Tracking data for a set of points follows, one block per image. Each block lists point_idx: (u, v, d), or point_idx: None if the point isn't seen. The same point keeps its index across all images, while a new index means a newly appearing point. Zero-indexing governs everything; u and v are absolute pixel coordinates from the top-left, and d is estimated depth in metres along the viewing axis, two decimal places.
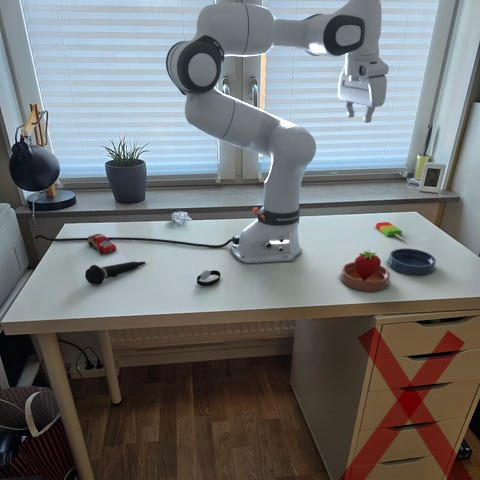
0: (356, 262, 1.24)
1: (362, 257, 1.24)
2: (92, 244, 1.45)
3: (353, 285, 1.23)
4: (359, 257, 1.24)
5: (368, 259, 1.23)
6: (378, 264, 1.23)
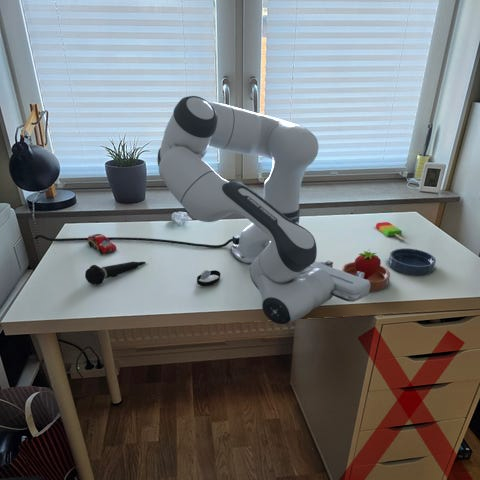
0: (356, 262, 1.24)
1: (362, 257, 1.24)
2: (92, 244, 1.45)
3: None
4: (359, 257, 1.24)
5: (368, 259, 1.23)
6: (378, 264, 1.23)
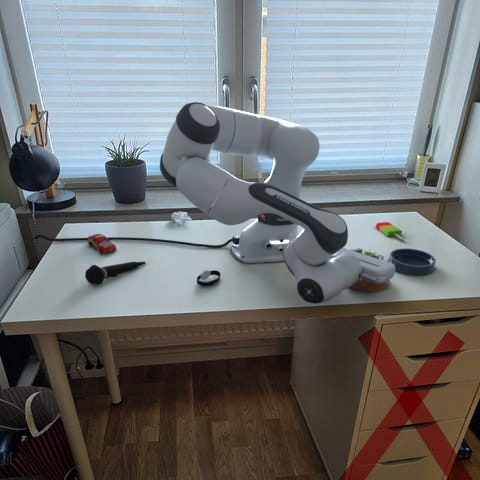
0: None
1: None
2: (92, 244, 1.45)
3: (353, 285, 1.23)
4: None
5: None
6: None
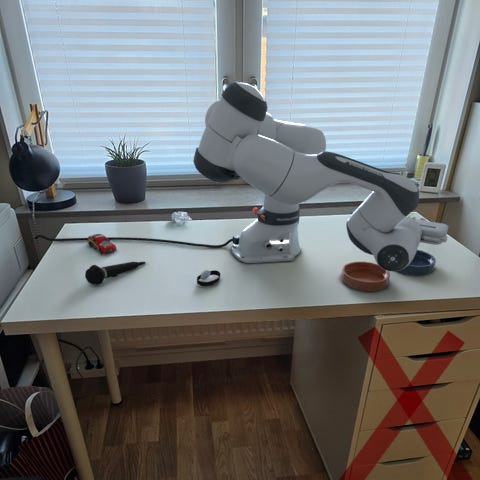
0: None
1: None
2: (92, 244, 1.45)
3: (353, 285, 1.23)
4: None
5: None
6: None
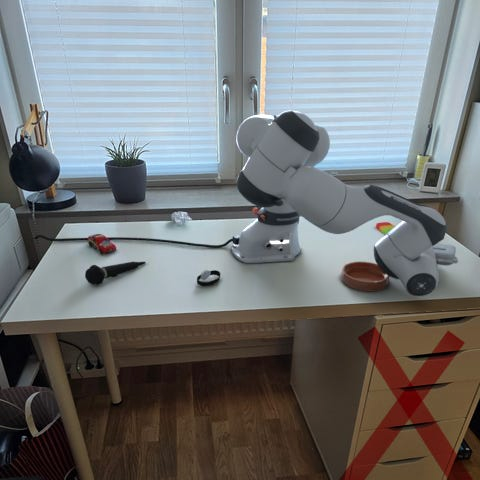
0: None
1: None
2: (92, 244, 1.45)
3: (353, 285, 1.23)
4: None
5: None
6: None
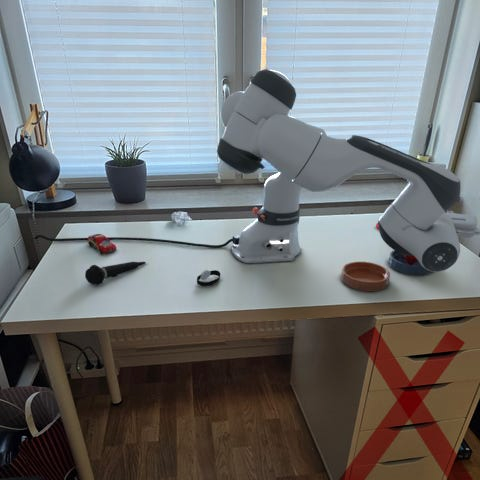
0: None
1: None
2: (92, 244, 1.45)
3: (353, 285, 1.23)
4: None
5: None
6: None
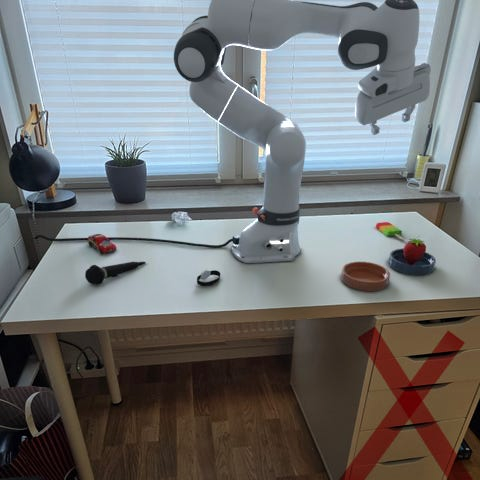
0: (409, 250, 1.31)
1: (412, 245, 1.31)
2: (92, 244, 1.45)
3: (353, 285, 1.23)
4: (409, 245, 1.31)
5: (419, 245, 1.31)
6: (425, 248, 1.33)
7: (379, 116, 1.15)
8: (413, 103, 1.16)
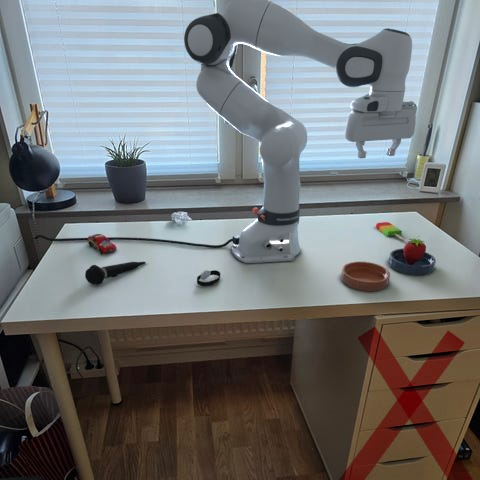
0: (409, 250, 1.31)
1: (412, 245, 1.31)
2: (92, 244, 1.45)
3: (353, 285, 1.23)
4: (409, 245, 1.31)
5: (419, 245, 1.31)
6: (425, 248, 1.33)
7: (367, 137, 1.18)
8: (399, 136, 1.21)
